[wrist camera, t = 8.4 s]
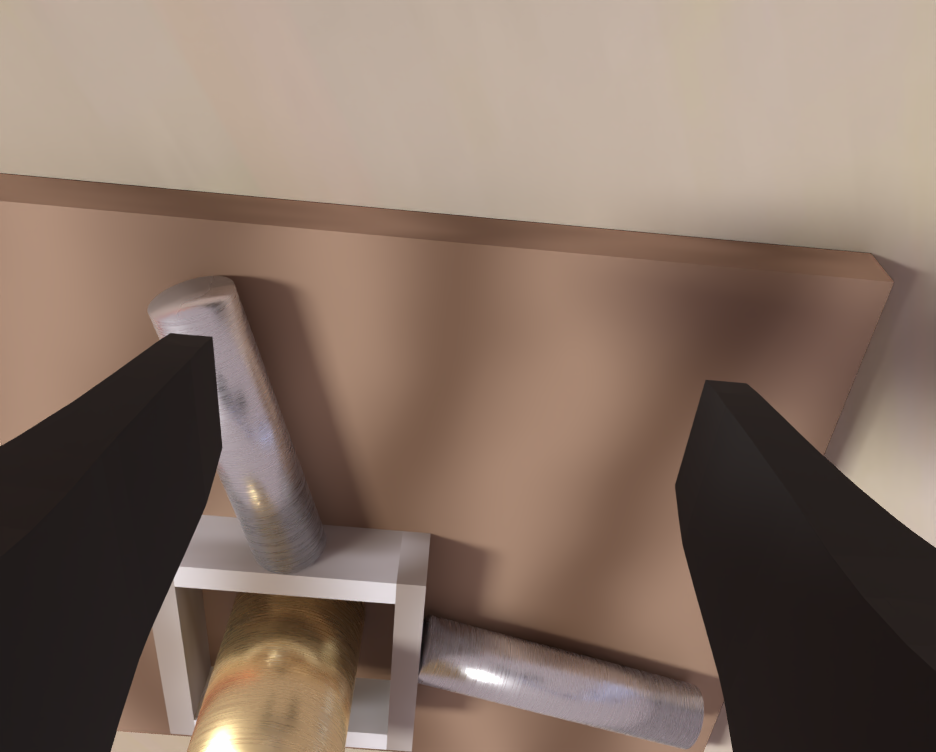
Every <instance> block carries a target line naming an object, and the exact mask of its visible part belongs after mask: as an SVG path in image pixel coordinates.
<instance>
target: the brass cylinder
mask: <svg viewBox="0 0 936 752" xmlns="http://www.w3.org/2000/svg"><path fill="white" fill-rule="evenodd" d="M365 612H366V610H365V604H364V602H363V601H350V600H338V599H325V598H312V597H300V596H287V595H274V594H262V593H249V592H237V595H236V598H235V601H234V604H233V608H232V611H231V614H230V617H229V620H228V623H227V626H226V630H225V633H224V636H223V639H222V642H221V645H220V649H219V652H218V655H217V658H216V661H215V664H214V668H213V671H212V674H211V677H210V680H209V683H208V687H207V690H206V693H205V696H204V699H203V702H202V706H201V709H200V712H199V715H198V718H197V721H196V725H195V728H194V731H193V734H192V737H191V740H190V743H189V747H188V750H187V752H344V751H345V745H346V738H347V732H348V725H349V719H350V713H351V706H352V700H353V693H354V687H355V680H356V674H357V667H358V661H359V654H360V648H361V641H362V635H363V628H364V622H365Z"/></svg>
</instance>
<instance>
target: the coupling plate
mask: <svg viewBox="0 0 936 752" xmlns="http://www.w3.org/2000/svg"><path fill="white" fill-rule="evenodd" d="M205 276H223V277H227V278H229V279H231V280H232V281H233V282H234V284H235V287H236V290H237V292H238V295H239V298H240V300H241V303H242V306H243V309H244V311H245V314H246V317H247V320H248V322H249V325H250V328H251V331H252V333H253V336H254V339H255V342H256V344H257V347H258V350H259V353H260V355H261V358H262V361H263V364H264V366H265V369H266V372H267V375H268V377H269V380H270V383H271V386H272V388H273V391H274V394H275V397H276V399H277V402H278V405H279V407H280V410H281V413H282V416H283V418H284V421H285V424H286V427H287V429H288V432H289V435H290V438H291V440H292V443H293V446H294V449H295V451H296V454H297V457H298V460H299V462H300V465H301V468H302V471H303V473H304V476H305V479H306V482H307V484H308V487H309V490H310V493H311V495H312V498H313V501H314V503H315V506H316V509H317V512H318V514H319V517H320V520H321V523H322V525H323V528H324V531H325V534H326V537H327V542H326V547H325V549H324V551H323V553H322V554H321V556H320V557H319V558H318V559H317V560H316V561H315V562H314V563H312V564H311V565H310V566H308V567H306V568H305V569H303V570H300V571H298V572H295V573H292V574H287V575H281V574H276V573H273V572H270V571H268V570H266V569H264V568H263V567H261V566H260V565H259V564H258V563H257V561H256V560H255V558H254V556H253V553H252V551H251V549H250V546H249V544H248V542H247V539H246V537H245V535H244V533H243V530H242V528H241V526H240V523H239V521H238V519H237V516H236V514H235V512H234V510H233V507H232V505H231V503H230V500H229V498H228V496H227V493H226V491H225V489H224V487H223V484H222V482H221V480H220V477H219V475H218V473H217V471H216V473H215V477H214V481H213V484H212V487H211V491H210V494H209V497H208V501H207V504H206V507H205V509H204V512H203V514H202V516H201V519H200V521H199V523H198V525H197V528H196V530H195V532H194V535H193V537H192V539H191V541H190V544H189V546H188V548H187V551H186V553H185V555H184V557H183V559H182V562H181V564H180V566H179V568H178V571H177V573H176V575H175V577H174V580H173V582H172V584H171V586H170V589H169V591H168V593H167V595H166V597H165V600H164V602H163V604H162V606H161V609H160V611H159V613H158V615H157V618H156V620H155V622H154V624H153V627H152V629H151V631H150V634H149V636H148V639H147V641H146V644H145V646H144V649H143V651H142V654H141V657H140V659H139V662H138V665H137V668H136V672H135V675H134V678H133V681H132V684H131V687H130V690H129V693H128V696H127V700H126V703H125V706H124V709H123V712H122V715H121V718H120V721H119V725H118V728H117V731H124V732H138V733H151V734H165V735H178V736H191V737H192V734H193V731H194V728H195V725H196V721H197V718H198V715H199V712H200V709H201V706H202V702H203V699H204V696H205V693H206V690H207V687H208V683H209V680H210V677H211V674H212V671H213V668H214V664H215V661H216V658H217V655H218V652H219V649H220V645H221V642H222V639H223V636H224V633H225V630H226V626H227V623H228V620H229V617H230V614H231V611H232V608H233V604H234V601H235V598H236V595H237V592H249V593H262V594H274V595H287V596H300V597H312V598H325V599H338V600H350V601H363V602H364V604H365V610H366V612H365V622H364V628H363V635H362V641H361V648H360V654H359V661H358V667H357V674H356V680H355V687H354V693H353V700H352V706H351V713H350V719H349V725H348V732H347V738H346V745H345V748H353V749H366V750H380V751H393V752H704V749H705V747H706V744H707V742H708V739H709V737H710V734H711V732H712V730H713V727H714V725H715V722H716V720H717V717H718V715H719V712H720V710H721V707H722V705H723V702H724V697H723V693H722V689H721V684H720V680H719V676H718V672H717V668H716V665H715V661H714V658H713V654H712V650H711V647H710V643H709V640H708V636H707V633H706V629H705V626H704V622H703V618H702V615H701V611H700V608H699V604H698V601H697V597H696V594H695V590H694V586H693V583H692V579H691V575H690V571H689V568H688V564H687V560H686V557H685V553H684V549H683V545H682V539H681V532H680V525H679V517H678V509H677V500H676V491H675V483H676V480H677V476H678V473H679V469H680V466H681V462H682V459H683V456H684V452H685V449H686V445H687V442H688V438H689V435H690V431H691V428H692V425H693V421H694V418H695V414H696V411H697V407H698V404H699V400H700V397H701V394H702V390H703V387H704V383H705V380H715V381H727V382H738V383H747V384H748V385H749V386H751V387H752V388H753V389H754V390H755V391H756V392H757V393H759V394H760V395H761V396H762V397H763V398H764V399H765V400H766V401H767V402H768V403H769V404H770V405H771V406H772V407H773V408H774V409H775V410H776V411H777V412H778V413H780V414H781V415H782V416H783V417H784V418H785V419H786V420H787V421H788V422H789V423H790V424H791V425H792V426H793V427H794V428H795V429H796V430H797V431H798V432H799V433H800V434H801V435H802V436H803V437H804V438H805V439H806V440H807V441H808V442H809V443H810V444H812V445H813V446H814V447H815V448H816V449H817V450H818V451H819V452H820V453H821V454H822V455H823V456H824V454H825V451H826V449H827V446H828V444H829V441H830V439H831V436H832V434H833V431H834V429H835V426H836V424H837V421H838V419H839V417H840V414H841V412H842V409H843V407H844V404H845V402H846V399H847V397H848V394H849V392H850V389H851V387H852V385H853V382H854V380H855V377H856V375H857V372H858V370H859V367H860V365H861V362H862V360H863V357H864V355H865V352H866V350H867V348H868V345H869V343H870V340H871V338H872V335H873V333H874V330H875V328H876V325H877V323H878V320H879V318H880V316H881V313H882V311H883V308H884V306H885V303H886V301H887V298H888V296H889V293H890V291H891V288H892V286H893V283H894V282H893V280H892V279H891V278H890V277H889V275H888V274H887V273H886V272H885V270H884V269H883V268H882V267H881V265H880V264H879V263H878V262H877V260H876V259H875V258H874V257H873V255H872V254H871V253H860V252H850V251H839V250H828V249H817V248H806V247H795V246H784V245H773V244H762V243H751V242H741V241H730V240H719V239H708V238H697V237H686V236H675V235H664V234H653V233H642V232H632V231H621V230H610V229H599V228H588V227H577V226H566V225H555V224H544V223H533V222H523V221H512V220H501V219H490V218H479V217H468V216H457V215H446V214H435V213H424V212H414V211H403V210H392V209H381V208H370V207H359V206H348V205H337V204H326V203H315V202H305V201H294V200H283V199H272V198H261V197H250V196H239V195H228V194H217V193H206V192H195V191H185V190H174V189H163V188H152V187H141V186H130V185H119V184H108V183H97V182H86V181H76V180H65V179H54V178H43V177H32V176H21V175H10V174H0V443H1V445H3V444H5V443H7V442H8V441H10V440H12V439H14V438H15V437H17V436H19V435H20V434H22V433H24V432H25V431H27V430H28V429H30V428H32V427H33V426H35V425H36V424H38V423H39V422H41V421H43V420H44V419H46V418H47V417H49V416H51V415H52V414H54V413H55V412H57V411H59V410H60V409H62V408H63V407H65V406H67V405H68V404H70V403H71V402H73V401H74V400H76V399H77V398H79V397H80V396H82V395H83V394H84V393H86V392H87V391H89V390H90V389H92V388H93V387H94V386H96V385H97V384H99V383H100V382H102V381H103V380H104V379H106V378H107V377H109V376H110V375H112V374H113V373H114V372H116V371H117V370H119V369H120V368H121V367H123V366H124V365H126V364H127V363H128V362H130V361H131V360H132V359H134V358H135V357H137V356H138V355H139V354H141V353H142V352H143V351H145V350H146V349H148V348H149V347H150V346H152V345H153V344H155V343H156V342H158V341H159V337H158V335H157V333H156V330H155V328H154V326H153V323H152V321H151V319H150V317H149V314H148V306H149V304H150V303H151V301H152V300H153V299H154V298H155V297H156V296H158V295H159V294H160V293H162V292H163V291H165V290H166V289H168V288H170V287H172V286H174V285H176V284H179V283H181V282H184V281H187V280H191V279H195V278H199V277H205ZM427 615H433V616H436V617H440V618H444V619H448V620H452V621H455V622H459V623H463V624H467V625H471V626H474V627H478V628H482V629H486V630H490V631H493V632H497V633H501V634H505V635H508V636H512V637H516V638H520V639H524V640H527V641H531V642H535V643H539V644H543V645H546V646H550V647H554V648H558V649H562V650H565V651H569V652H573V653H577V654H580V655H584V656H588V657H592V658H596V659H599V660H603V661H607V662H611V663H615V664H618V665H622V666H626V667H630V668H634V669H637V670H641V671H645V672H649V673H652V674H656V675H660V676H664V677H668V678H671V679H675V680H679V681H683V682H687V683H690V684H694V685H696V686H697V687H698V688H699V689H700V691H701V694H702V697H703V701H704V719H703V725H702V729H701V732H700V735H699V737H698V739H697V741H696V742H695V744H694V745H693V746H692V747H690V748H689V749H680V748H676V747H672V746H668V745H664V744H660V743H656V742H652V741H648V740H644V739H640V738H636V737H632V736H628V735H624V734H620V733H616V732H612V731H608V730H604V729H600V728H596V727H592V726H588V725H584V724H580V723H576V722H572V721H567V720H563V719H559V718H555V717H551V716H547V715H543V714H539V713H535V712H531V711H527V710H523V709H519V708H515V707H511V706H507V705H503V704H499V703H495V702H491V701H487V700H483V699H479V698H475V697H471V696H467V695H463V694H459V693H455V692H451V691H447V690H443V689H439V688H435V687H431V686H427V685H423V684H419V683H418V673H419V662H420V650H421V639H422V628H423V621H424V619H425V617H426V616H427Z"/></svg>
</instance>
